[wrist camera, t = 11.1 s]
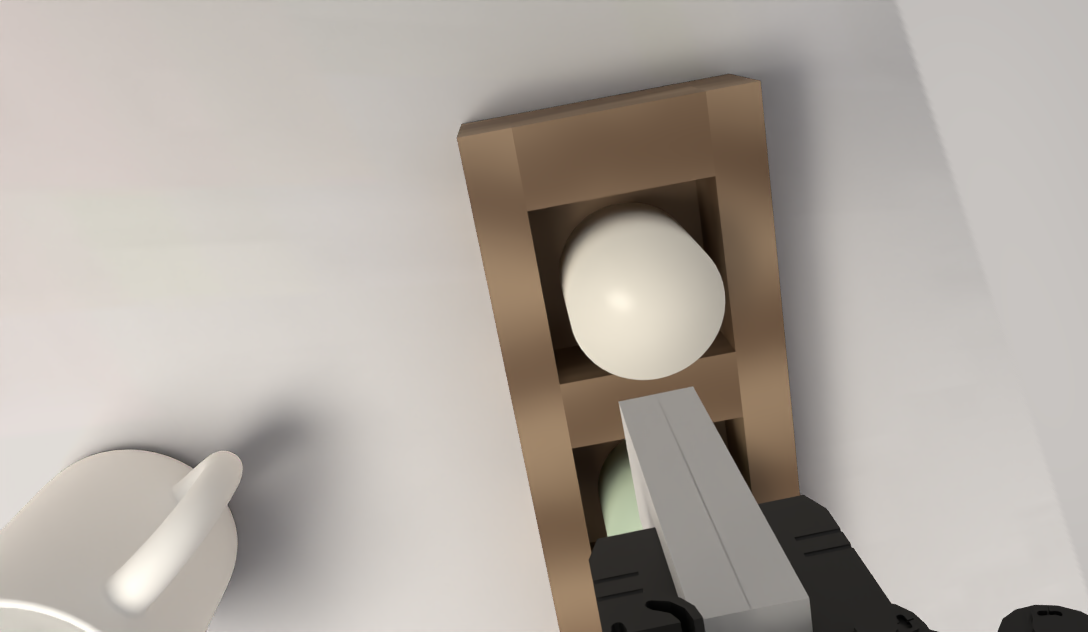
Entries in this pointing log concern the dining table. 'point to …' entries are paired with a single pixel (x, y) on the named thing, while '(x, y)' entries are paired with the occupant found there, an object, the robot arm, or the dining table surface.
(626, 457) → the pale green rounded piece
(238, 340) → the dining table surface
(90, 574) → the mug
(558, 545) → the wooden compartment tray
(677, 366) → the white short cylinder
